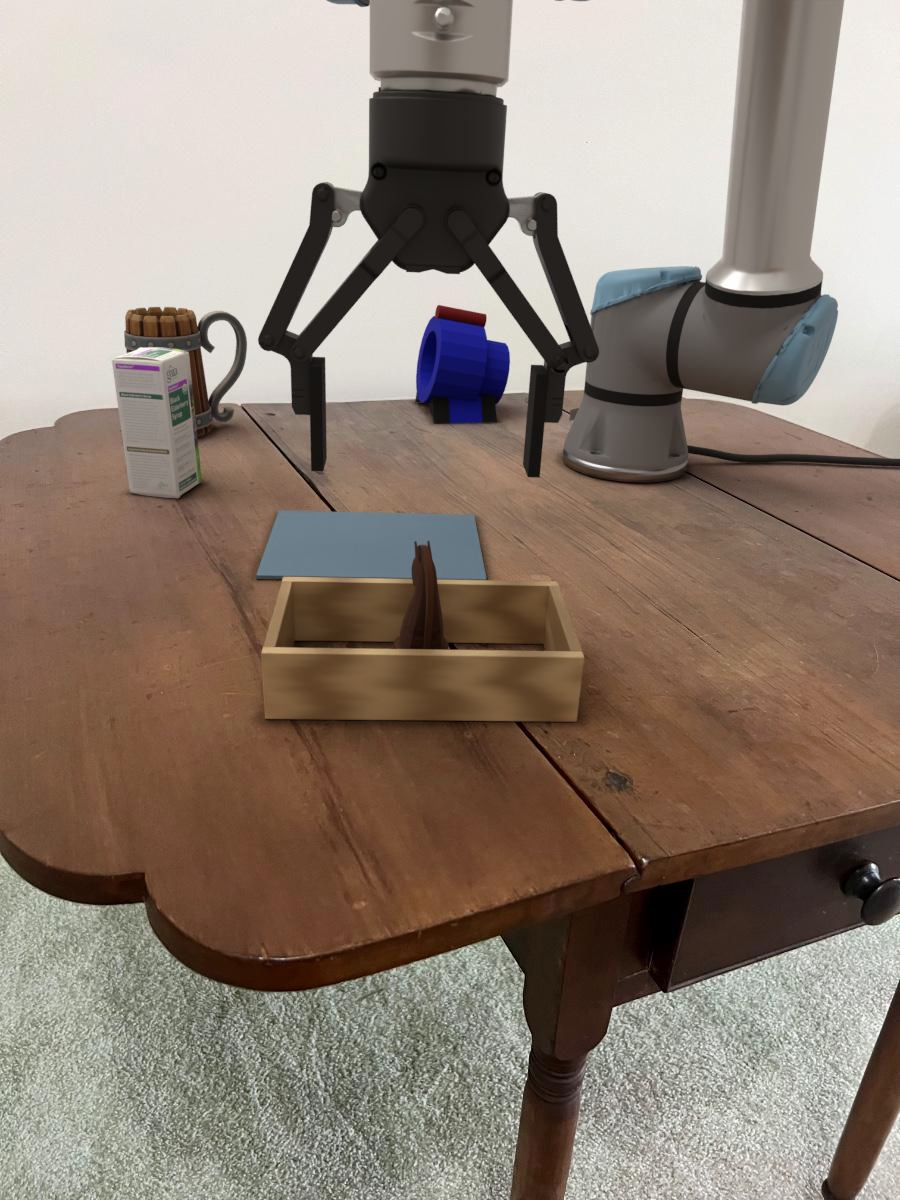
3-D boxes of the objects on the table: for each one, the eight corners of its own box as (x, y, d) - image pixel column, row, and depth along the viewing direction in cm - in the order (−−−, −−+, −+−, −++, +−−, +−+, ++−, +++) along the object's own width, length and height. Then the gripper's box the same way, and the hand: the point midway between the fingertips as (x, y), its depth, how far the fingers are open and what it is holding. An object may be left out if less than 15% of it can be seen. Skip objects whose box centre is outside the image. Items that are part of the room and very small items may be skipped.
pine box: (551, 639, 72) (557, 581, 69) (576, 722, 61) (584, 656, 59) (285, 635, 70) (282, 576, 68) (264, 719, 60) (260, 652, 58)
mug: (137, 446, 112) (123, 320, 106) (121, 425, 121) (108, 306, 114) (261, 435, 119) (255, 315, 112) (238, 415, 127) (232, 302, 121)
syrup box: (178, 499, 96) (165, 359, 90) (127, 494, 97) (110, 354, 91) (202, 483, 101) (191, 349, 95) (153, 477, 102) (139, 344, 96)
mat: (474, 518, 95) (474, 514, 95) (486, 583, 80) (486, 579, 80) (278, 513, 94) (278, 510, 93) (256, 579, 79) (255, 575, 79)
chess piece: (445, 656, 68) (450, 531, 64) (459, 692, 64) (466, 560, 60) (383, 660, 67) (385, 534, 63) (394, 697, 63) (396, 563, 59)
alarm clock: (410, 402, 138) (413, 298, 131) (489, 400, 141) (495, 298, 134) (428, 423, 127) (432, 311, 121) (513, 421, 130) (521, 312, 124)
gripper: (190, 71, 46) (218, 480, 55) (683, 98, 47) (630, 492, 56) (218, 83, 52) (238, 445, 61) (648, 106, 54) (606, 456, 63)
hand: (425, 468), depth 59 cm, fingers open, 13 cm apart
